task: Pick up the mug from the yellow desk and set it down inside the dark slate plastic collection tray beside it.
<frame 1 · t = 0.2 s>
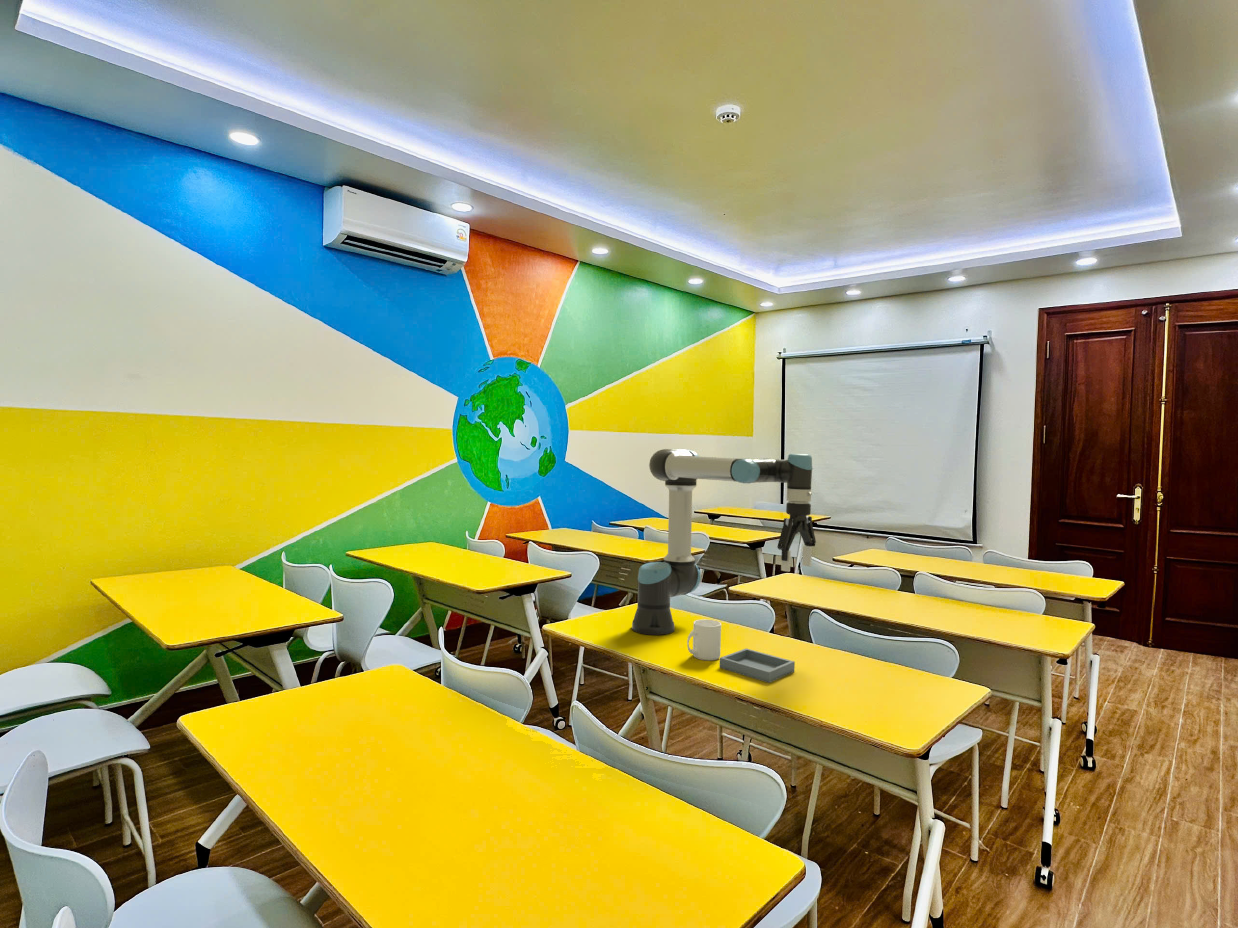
hand: (796, 568, 214), 28 cm above the table, fingers open, 13 cm apart
mug: (702, 657, 210), on the table
tray: (756, 669, 200), on the table
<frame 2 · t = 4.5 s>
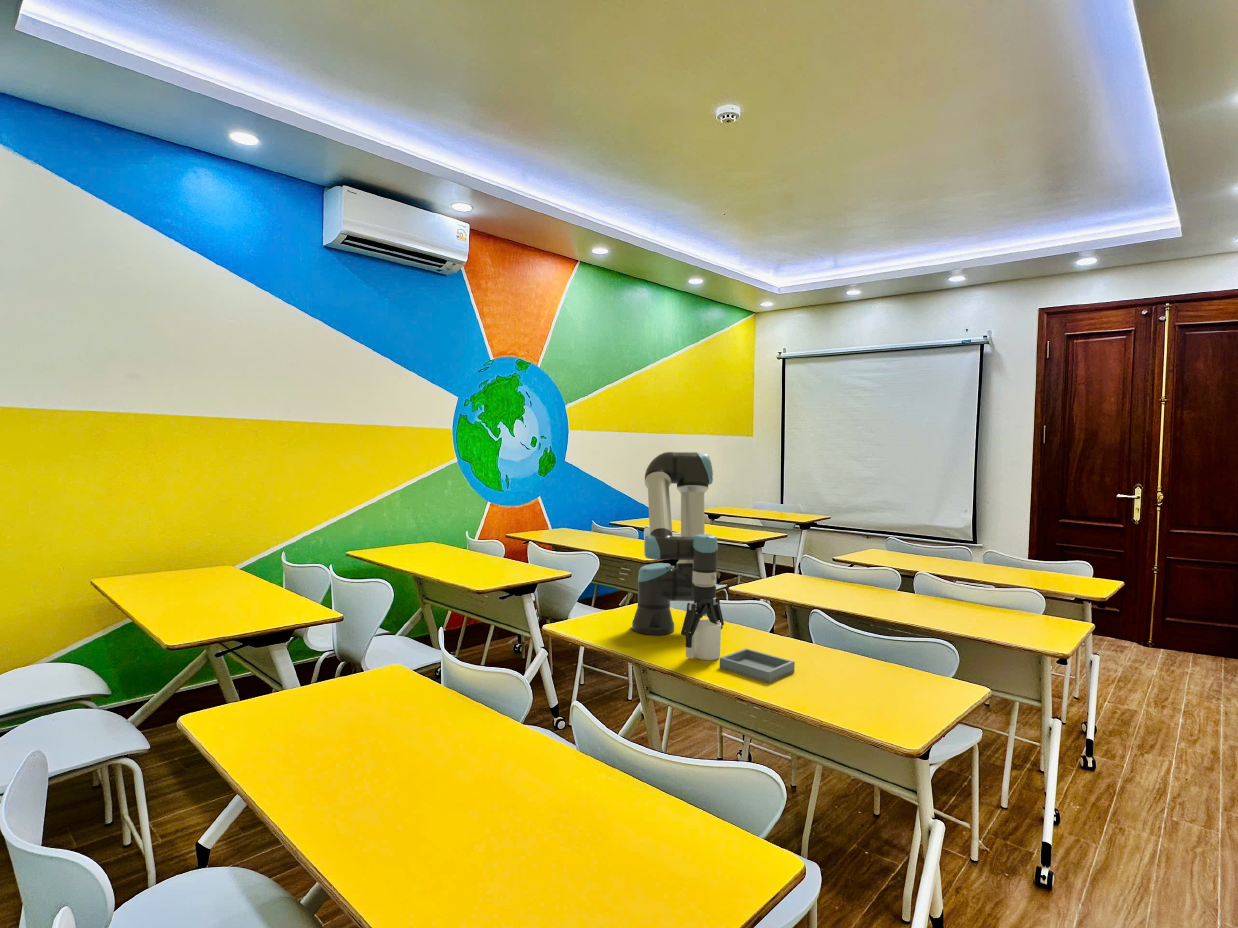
hand: (702, 653, 210), 1 cm above the table, fingers closed on mug, 12 cm apart
mug: (702, 657, 210), on the table, touching gripper
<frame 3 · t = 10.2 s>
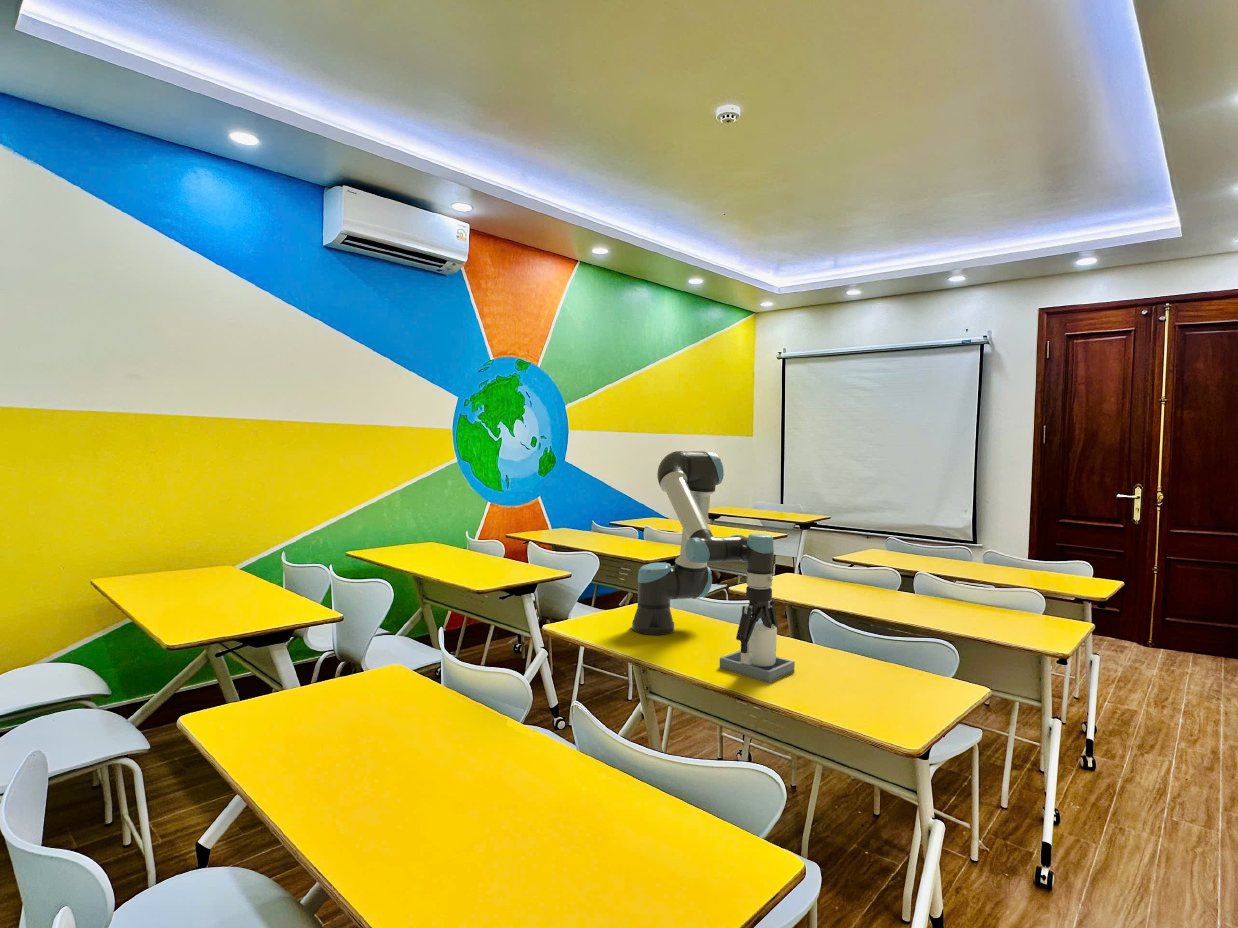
hand: (756, 658, 199), 3 cm above the table, fingers closed on mug, 12 cm apart
mug: (756, 663, 199), point 2 cm above the table, touching gripper
when the fingers open (3 cm above the table, at t = 11.0 s): mug drops 1 cm, resting on tray.
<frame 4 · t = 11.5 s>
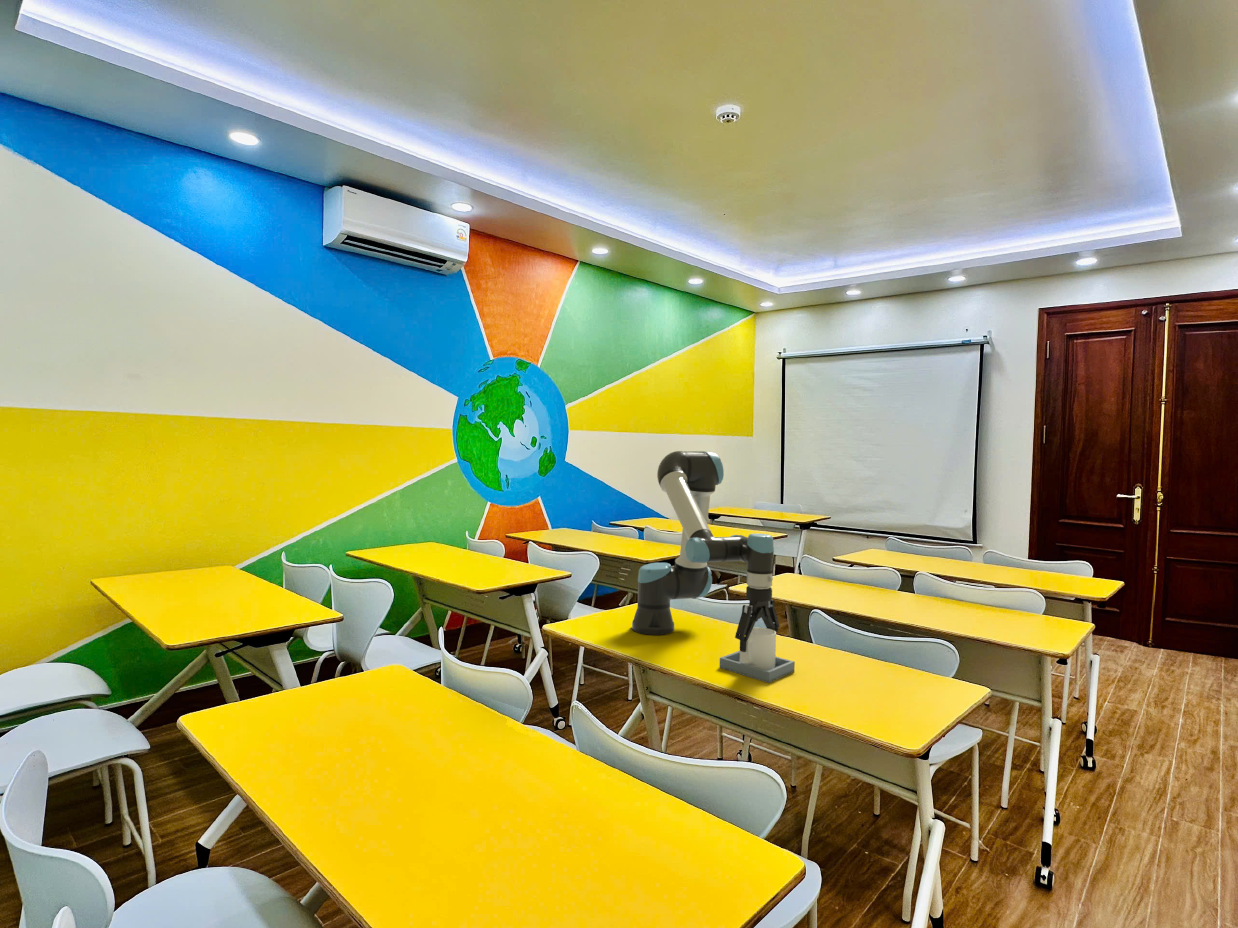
hand: (757, 657, 199), 4 cm above the table, fingers open, 13 cm apart
mug: (756, 668, 199), resting on tray
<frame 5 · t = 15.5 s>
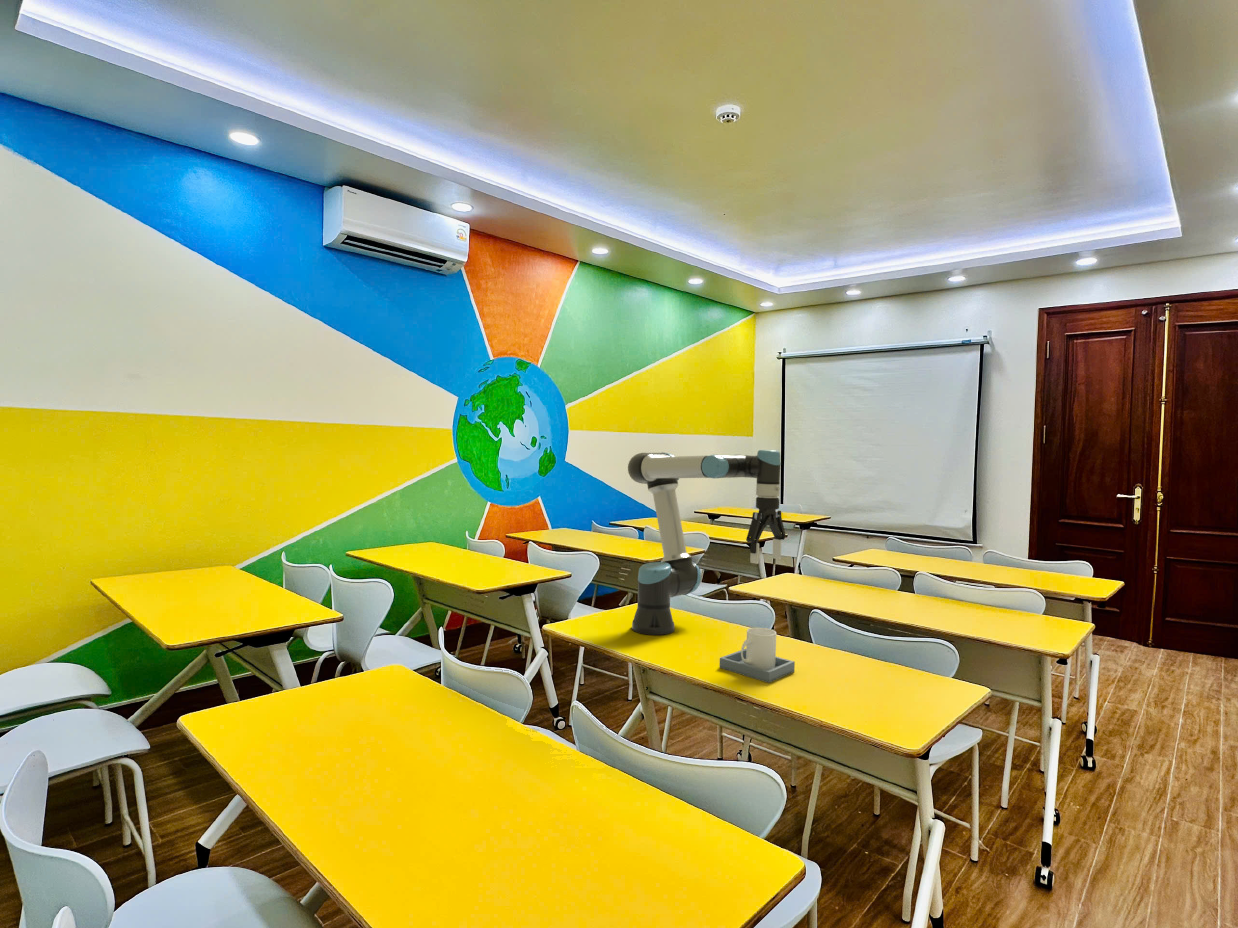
hand: (765, 560, 221), 29 cm above the table, fingers open, 13 cm apart
nothing on the table moved.
at the end: mug inside the target area on the tray (0.2 cm from its centre), point 0.4 cm above the tray's base; mug tilted 0°; the gripper is holding nothing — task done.
